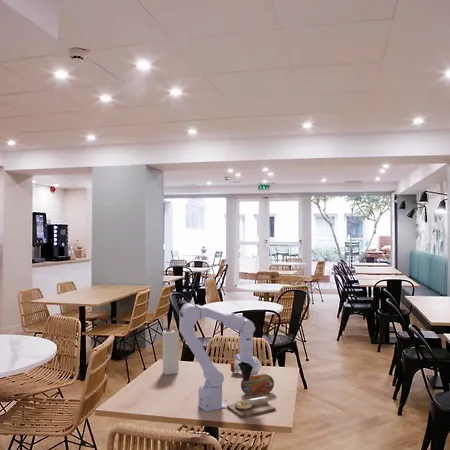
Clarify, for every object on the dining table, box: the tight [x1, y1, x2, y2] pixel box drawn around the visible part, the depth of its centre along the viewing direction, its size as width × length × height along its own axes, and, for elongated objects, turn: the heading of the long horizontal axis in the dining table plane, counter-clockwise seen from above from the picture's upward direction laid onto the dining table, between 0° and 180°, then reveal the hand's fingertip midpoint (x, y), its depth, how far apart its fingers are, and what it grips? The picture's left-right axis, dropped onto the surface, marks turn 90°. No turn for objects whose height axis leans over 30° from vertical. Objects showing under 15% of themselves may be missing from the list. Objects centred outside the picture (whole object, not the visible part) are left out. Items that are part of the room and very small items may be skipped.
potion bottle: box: [230, 355, 262, 375], centre depth 236 cm, size 9×10×15 cm
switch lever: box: [234, 396, 269, 410], centre depth 191 cm, size 14×7×2 cm, turn 114°
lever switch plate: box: [226, 402, 277, 419], centre depth 190 cm, size 16×12×1 cm
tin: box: [240, 373, 275, 397], centre depth 208 cm, size 15×3×8 cm, turn 105°
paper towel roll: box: [162, 329, 180, 375], centre depth 238 cm, size 7×6×21 cm
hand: (246, 380), depth 198 cm, fingers closed
